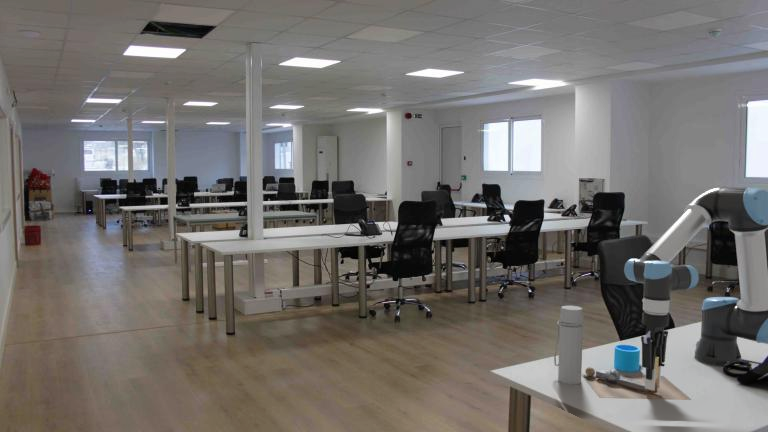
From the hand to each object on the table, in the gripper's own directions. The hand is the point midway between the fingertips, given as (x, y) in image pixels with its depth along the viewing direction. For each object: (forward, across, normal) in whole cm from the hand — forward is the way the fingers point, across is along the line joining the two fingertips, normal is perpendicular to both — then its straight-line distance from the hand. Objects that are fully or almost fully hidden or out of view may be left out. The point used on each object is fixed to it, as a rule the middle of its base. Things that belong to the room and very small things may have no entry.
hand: (652, 387), depth 195 cm
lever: (+1, 0, -8) cm, 9 cm away
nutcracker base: (+3, -2, -7) cm, 8 cm away
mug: (+3, -20, -17) cm, 27 cm away
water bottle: (+3, +8, -24) cm, 26 cm away
